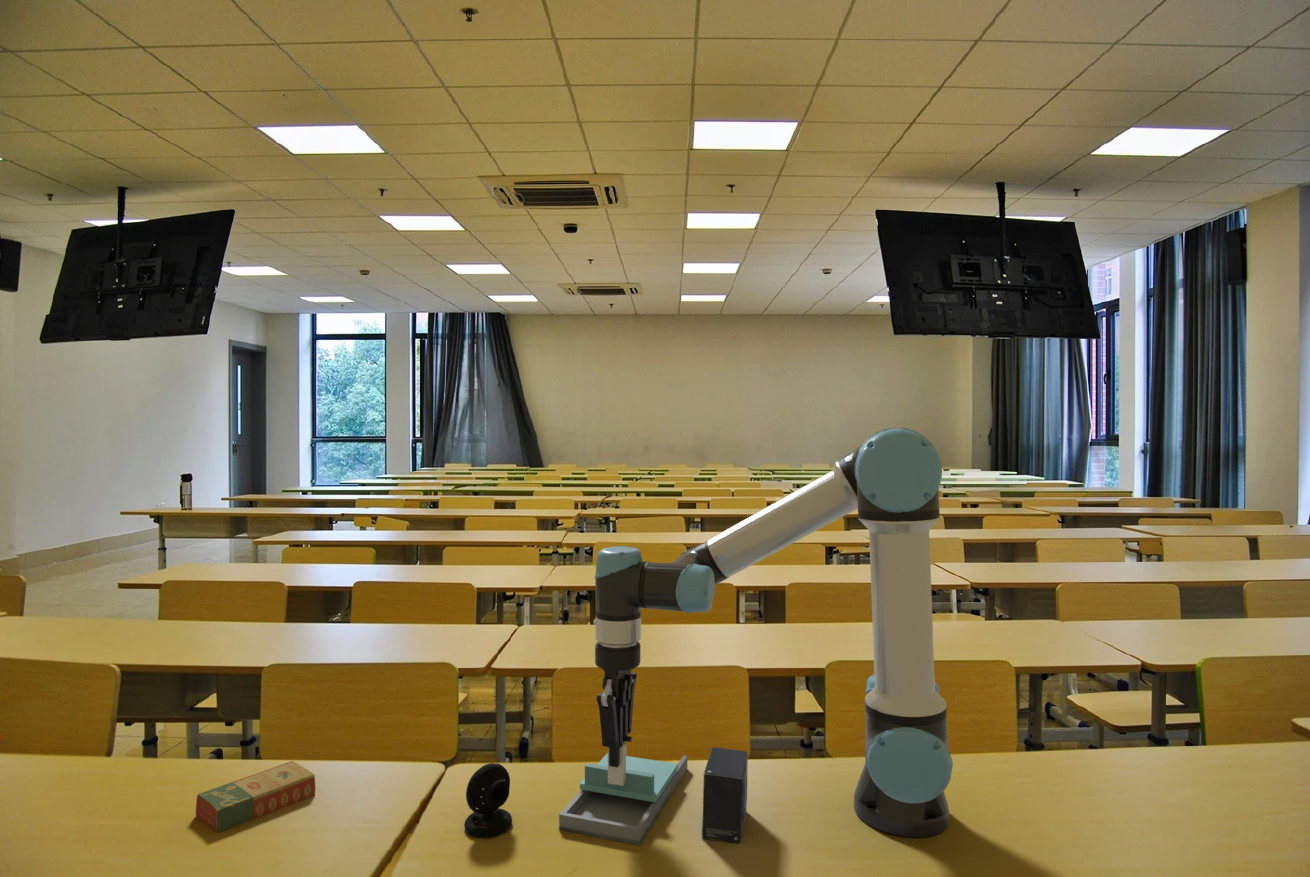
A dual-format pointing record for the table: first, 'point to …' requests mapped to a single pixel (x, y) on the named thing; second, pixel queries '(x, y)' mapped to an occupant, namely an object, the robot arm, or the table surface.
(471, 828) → the webcam
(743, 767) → the small box
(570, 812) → the tray
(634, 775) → the lid
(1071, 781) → the table surface
